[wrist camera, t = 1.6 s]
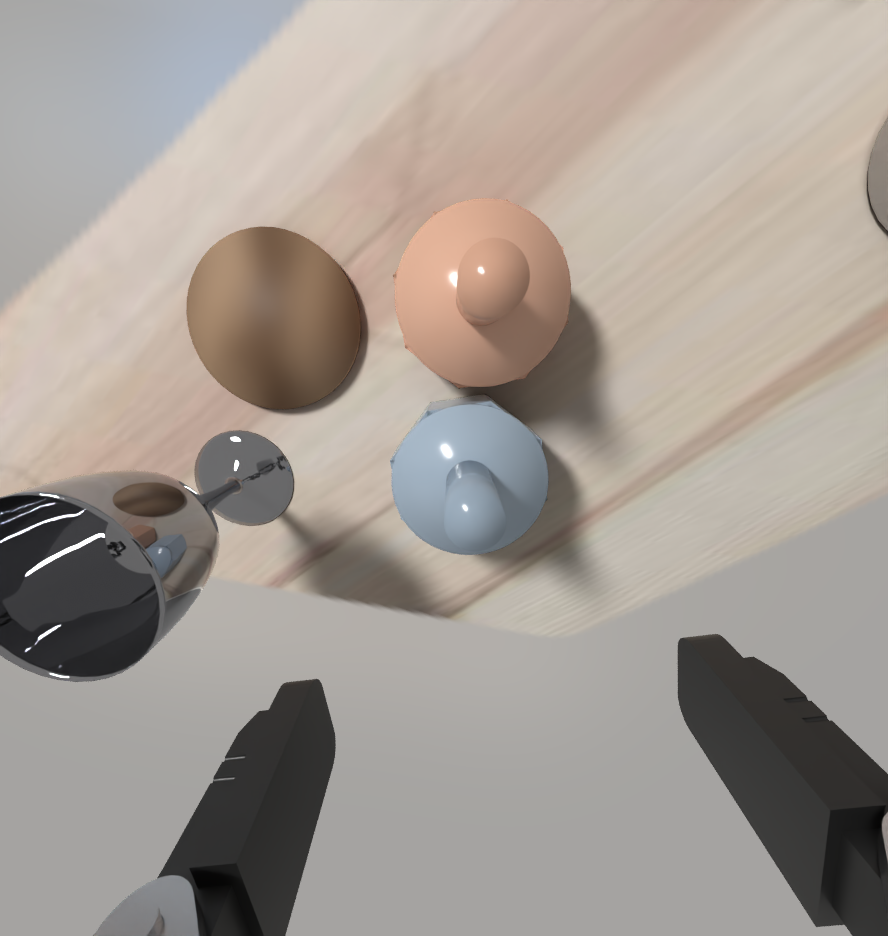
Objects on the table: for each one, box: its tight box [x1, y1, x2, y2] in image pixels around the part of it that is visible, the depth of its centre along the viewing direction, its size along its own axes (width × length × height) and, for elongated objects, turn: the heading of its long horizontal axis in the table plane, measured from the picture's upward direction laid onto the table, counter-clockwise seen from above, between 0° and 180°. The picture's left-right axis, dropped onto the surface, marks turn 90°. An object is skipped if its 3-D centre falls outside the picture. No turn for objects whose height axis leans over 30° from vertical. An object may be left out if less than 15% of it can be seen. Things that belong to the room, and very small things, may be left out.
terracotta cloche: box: [393, 198, 571, 389], centre depth 22 cm, size 9×9×11 cm
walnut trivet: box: [187, 227, 361, 409], centre depth 27 cm, size 11×11×1 cm
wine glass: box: [0, 430, 294, 682], centre depth 23 cm, size 8×8×15 cm
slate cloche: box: [390, 394, 548, 555], centre depth 24 cm, size 9×9×11 cm
